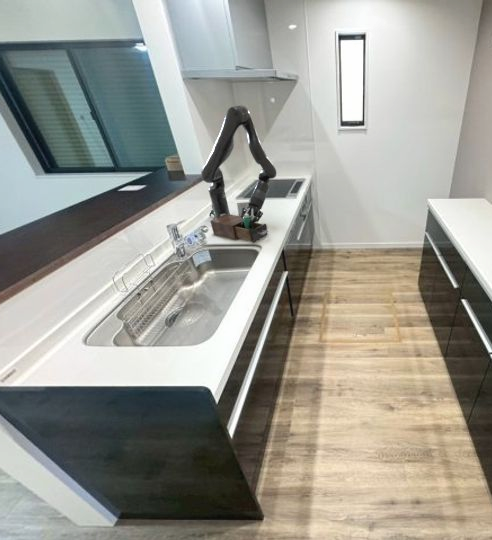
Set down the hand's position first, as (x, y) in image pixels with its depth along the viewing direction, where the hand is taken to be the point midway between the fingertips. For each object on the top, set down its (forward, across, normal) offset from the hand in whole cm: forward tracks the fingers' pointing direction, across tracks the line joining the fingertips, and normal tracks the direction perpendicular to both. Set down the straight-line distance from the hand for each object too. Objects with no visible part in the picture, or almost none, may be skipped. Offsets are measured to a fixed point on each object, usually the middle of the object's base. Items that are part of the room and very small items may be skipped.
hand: (246, 226), depth 162 cm
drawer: (+3, +1, +6) cm, 7 cm away
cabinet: (+4, -14, +7) cm, 16 cm away
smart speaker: (-8, -19, +19) cm, 28 cm away
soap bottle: (+3, 0, +5) cm, 6 cm away
